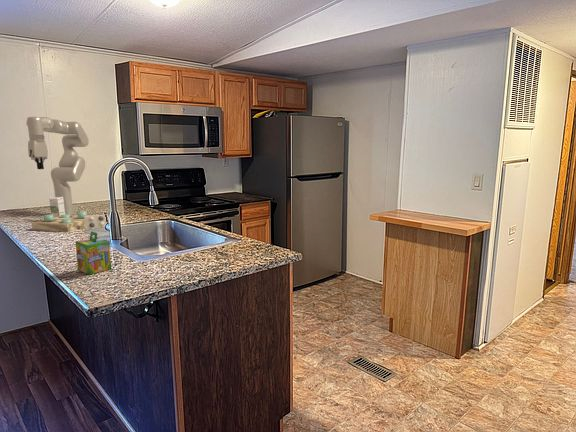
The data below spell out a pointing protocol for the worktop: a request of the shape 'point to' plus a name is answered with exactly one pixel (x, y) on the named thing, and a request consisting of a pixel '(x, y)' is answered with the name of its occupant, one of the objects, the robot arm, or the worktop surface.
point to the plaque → (95, 221)
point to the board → (59, 224)
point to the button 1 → (48, 218)
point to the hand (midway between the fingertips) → (40, 169)
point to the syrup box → (57, 206)
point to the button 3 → (81, 215)
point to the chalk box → (93, 255)
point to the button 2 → (66, 221)
